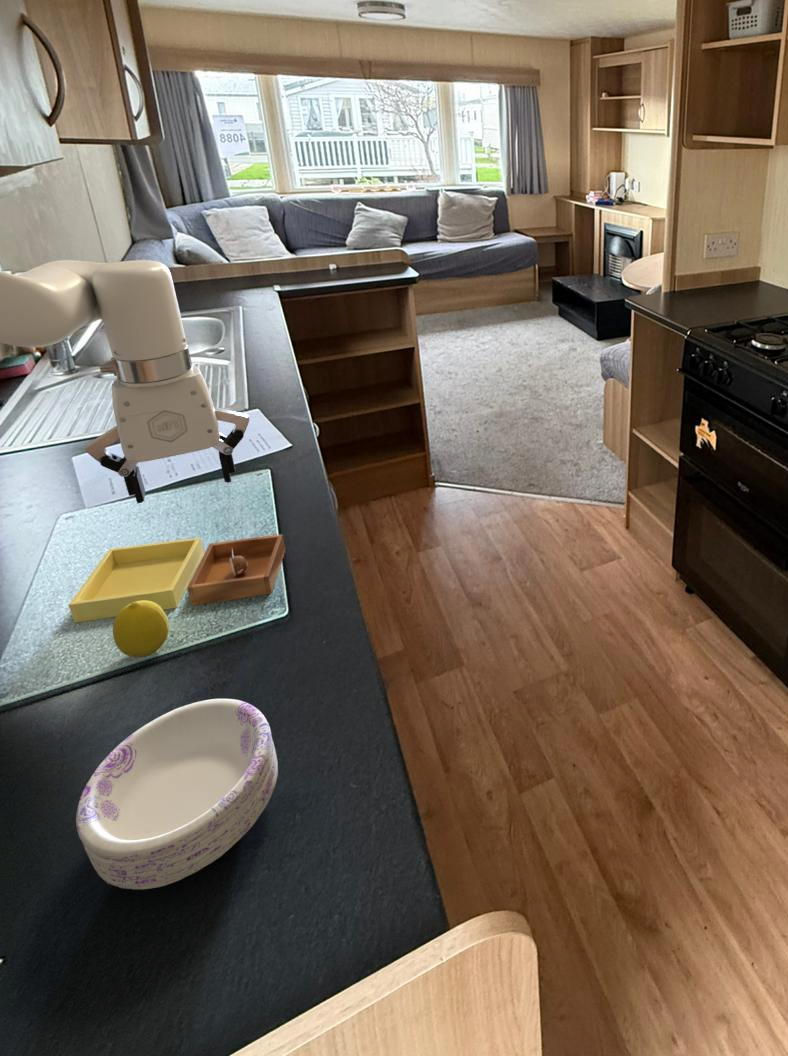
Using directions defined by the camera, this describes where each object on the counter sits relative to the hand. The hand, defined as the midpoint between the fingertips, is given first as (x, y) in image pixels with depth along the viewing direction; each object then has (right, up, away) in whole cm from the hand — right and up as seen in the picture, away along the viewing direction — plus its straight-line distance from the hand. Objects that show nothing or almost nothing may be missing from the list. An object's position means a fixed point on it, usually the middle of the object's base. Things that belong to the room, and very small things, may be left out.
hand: (185, 487), depth 84 cm
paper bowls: (+15, -28, -22) cm, 39 cm away
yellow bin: (-12, -16, +9) cm, 22 cm away
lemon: (-3, -21, -3) cm, 21 cm away
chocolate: (+1, -15, +11) cm, 18 cm away
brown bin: (+1, -15, +11) cm, 19 cm away
